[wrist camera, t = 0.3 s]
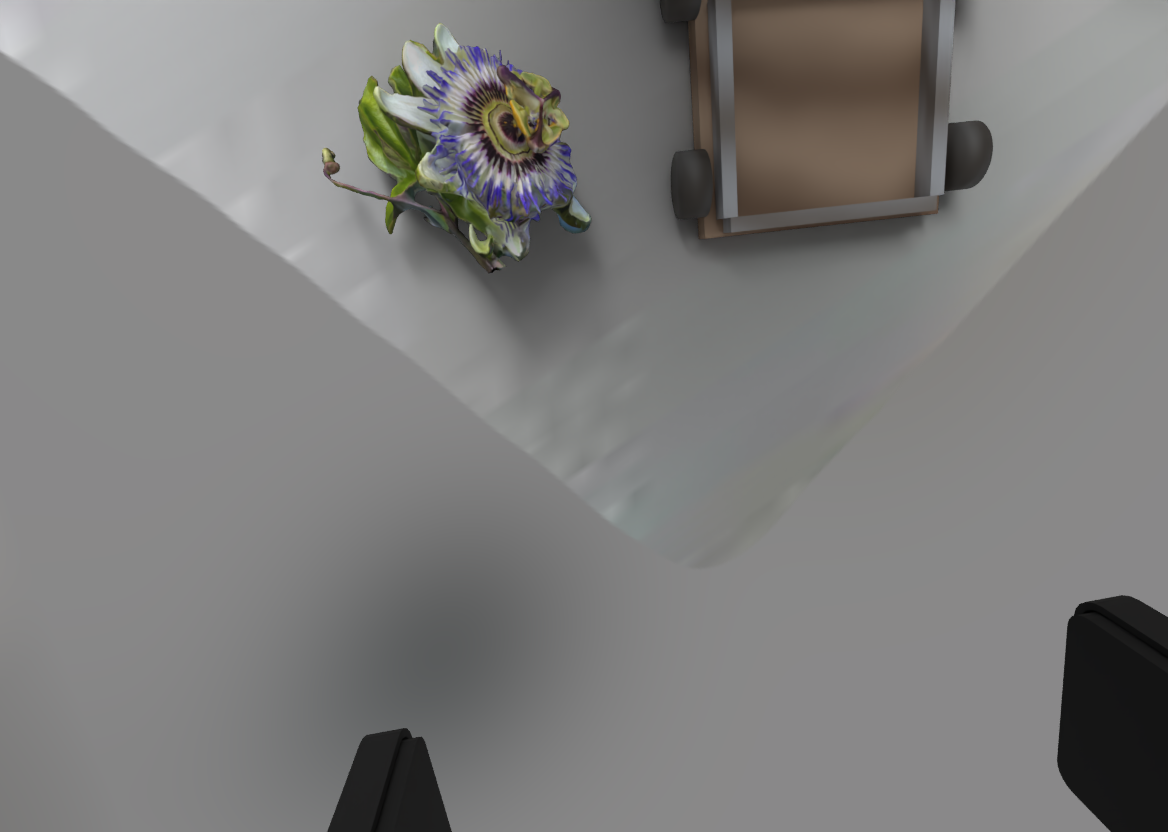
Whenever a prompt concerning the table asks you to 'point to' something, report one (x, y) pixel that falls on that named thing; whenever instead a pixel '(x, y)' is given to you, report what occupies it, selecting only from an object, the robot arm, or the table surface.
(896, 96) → the chassis
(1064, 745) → the robot arm
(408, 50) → the passion flower
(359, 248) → the table surface
